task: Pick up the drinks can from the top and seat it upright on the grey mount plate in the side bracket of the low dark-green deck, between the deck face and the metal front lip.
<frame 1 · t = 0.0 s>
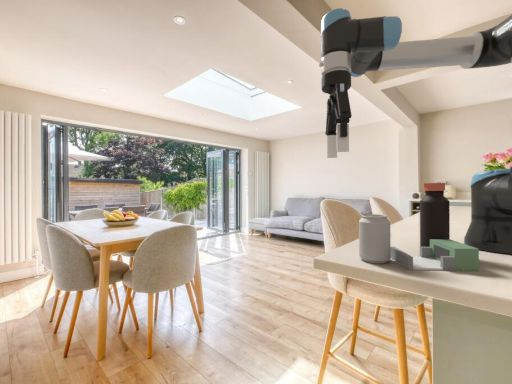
hand: (336, 155, 68), 28 cm above the table, tool pointing down, fingers open, 13 cm apart
mower deck: (422, 263, 64), on the table
can: (374, 260, 67), on the table
bottle: (434, 254, 72), on the table
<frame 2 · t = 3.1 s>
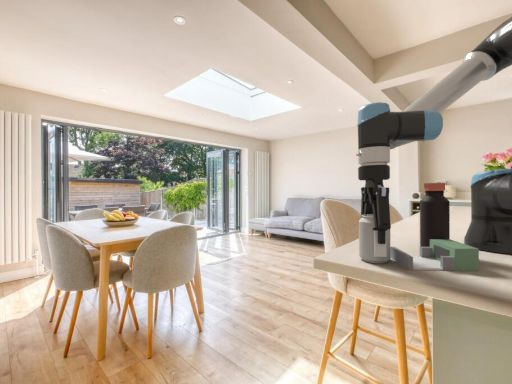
hand: (374, 251, 67), 2 cm above the table, tool pointing down, fingers closed on can, 7 cm apart
can: (374, 260, 67), on the table, touching gripper
everything else where it was.
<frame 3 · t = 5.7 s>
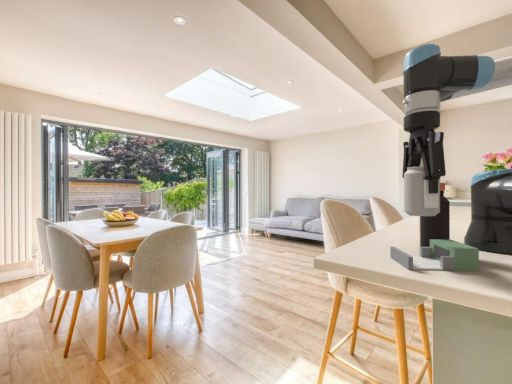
hand: (421, 206, 63), 14 cm above the table, tool pointing down, fingers closed on can, 7 cm apart
can: (421, 215, 63), point 12 cm above the table, touching gripper
everything else where it was.
when the fingers open (4 cm above the table, at t = 8.2 s): can drops 1 cm, resting on mower deck.
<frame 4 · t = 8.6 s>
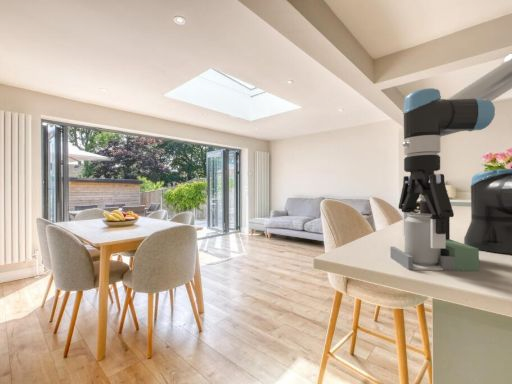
hand: (421, 241, 63), 5 cm above the table, tool pointing down, fingers open, 13 cm apart
can: (422, 262, 64), resting on mower deck
everything else where it was.
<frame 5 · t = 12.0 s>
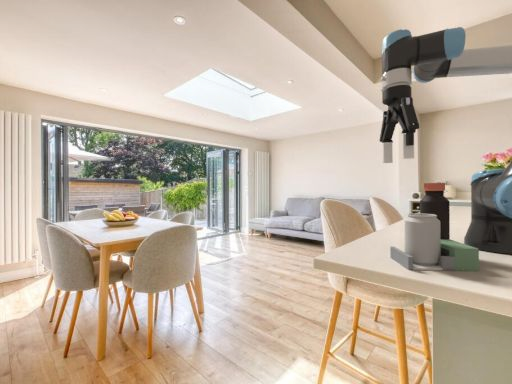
hand: (396, 161, 75), 27 cm above the table, tool pointing down, fingers open, 13 cm apart
nothing on the table moved.
at the end: can inside the target area on the mower deck (0.0 cm from its centre), point 0.2 cm above the mower deck's base; can tilted 0°; the gripper is holding nothing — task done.
